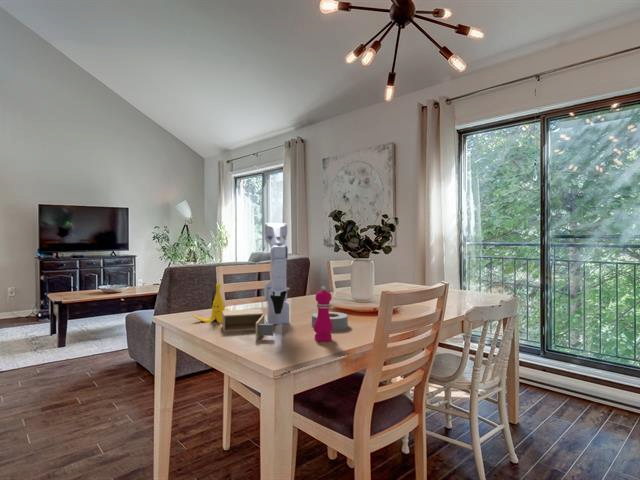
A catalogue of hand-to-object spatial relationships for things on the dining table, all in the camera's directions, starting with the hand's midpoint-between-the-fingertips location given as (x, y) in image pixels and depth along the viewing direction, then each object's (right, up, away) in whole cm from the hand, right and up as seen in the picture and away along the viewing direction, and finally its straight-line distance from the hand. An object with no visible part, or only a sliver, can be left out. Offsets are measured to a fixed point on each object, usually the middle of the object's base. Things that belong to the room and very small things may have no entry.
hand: (278, 311), depth 151 cm
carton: (-16, -9, +12) cm, 22 cm away
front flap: (-4, -9, +1) cm, 10 cm away
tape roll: (+20, -10, +16) cm, 27 cm away
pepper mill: (+17, -10, -5) cm, 20 cm away
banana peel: (-30, -9, +27) cm, 41 cm away
